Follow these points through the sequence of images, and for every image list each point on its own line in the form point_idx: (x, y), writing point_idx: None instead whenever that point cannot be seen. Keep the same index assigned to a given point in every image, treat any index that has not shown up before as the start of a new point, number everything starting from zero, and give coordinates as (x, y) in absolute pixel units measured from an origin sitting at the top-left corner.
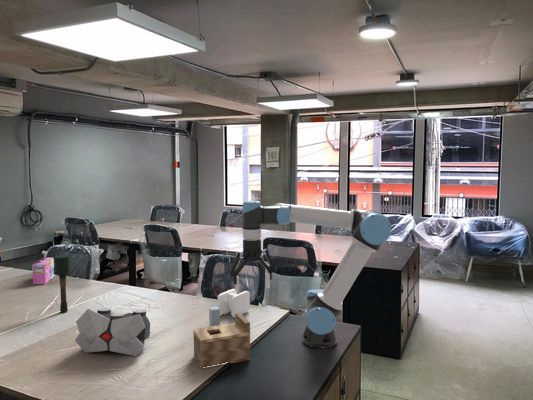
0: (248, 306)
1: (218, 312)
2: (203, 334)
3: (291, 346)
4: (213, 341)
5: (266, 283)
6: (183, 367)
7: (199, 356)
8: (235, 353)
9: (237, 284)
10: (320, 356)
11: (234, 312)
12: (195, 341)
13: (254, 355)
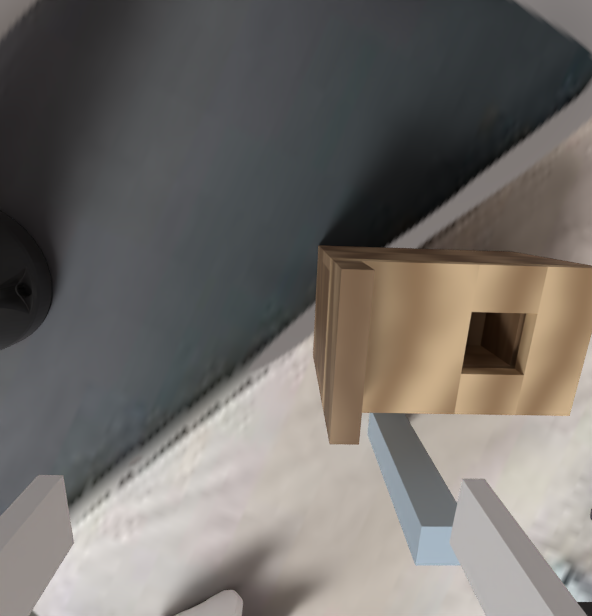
0: None
1: (421, 509)
2: (560, 335)
3: (113, 284)
4: None
5: (35, 574)
6: None
7: None
8: (389, 251)
9: (559, 584)
10: (27, 142)
11: (231, 610)
12: None
13: (287, 273)
